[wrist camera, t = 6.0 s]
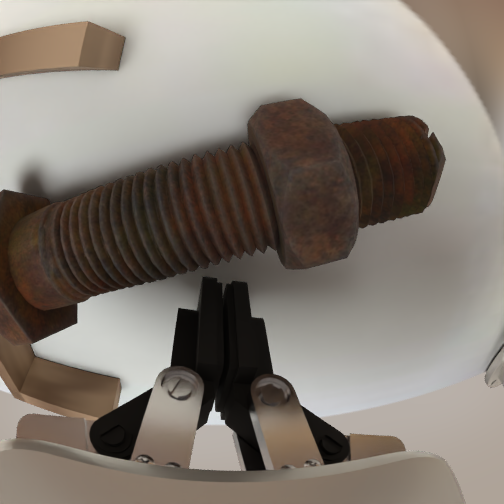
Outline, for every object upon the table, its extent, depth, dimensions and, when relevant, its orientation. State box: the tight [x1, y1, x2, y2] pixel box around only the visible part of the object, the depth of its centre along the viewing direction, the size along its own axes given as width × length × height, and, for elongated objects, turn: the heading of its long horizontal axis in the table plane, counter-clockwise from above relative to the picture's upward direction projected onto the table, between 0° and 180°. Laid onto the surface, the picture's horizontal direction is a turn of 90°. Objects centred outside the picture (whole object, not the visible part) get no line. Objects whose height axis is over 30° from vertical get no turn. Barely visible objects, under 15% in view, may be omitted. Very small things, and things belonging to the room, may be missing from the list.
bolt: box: [0, 99, 446, 346], centre depth 8 cm, size 6×5×15 cm
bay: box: [0, 21, 125, 421], centre depth 9 cm, size 7×18×3 cm, turn 167°
